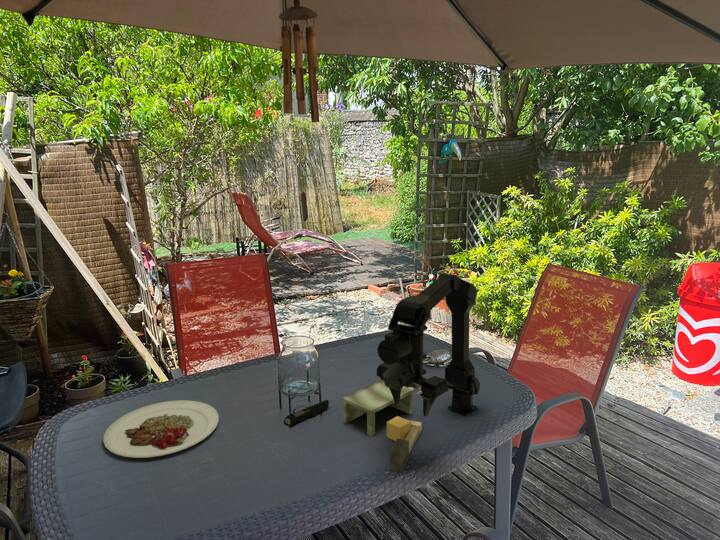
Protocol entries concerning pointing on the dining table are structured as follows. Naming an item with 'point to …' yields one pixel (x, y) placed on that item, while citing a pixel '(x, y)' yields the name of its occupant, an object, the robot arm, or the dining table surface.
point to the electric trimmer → (305, 413)
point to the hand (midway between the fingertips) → (410, 409)
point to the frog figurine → (414, 386)
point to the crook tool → (404, 447)
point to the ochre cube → (398, 428)
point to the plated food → (161, 429)
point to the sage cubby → (374, 403)
